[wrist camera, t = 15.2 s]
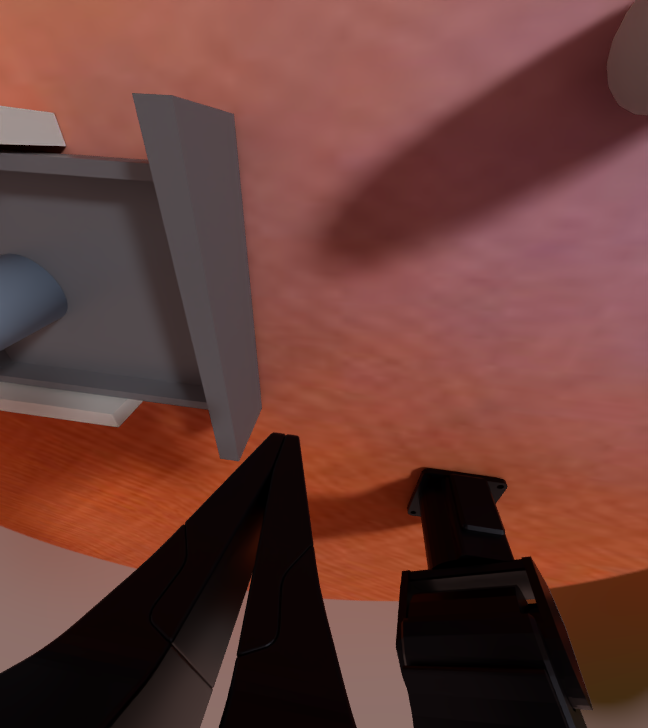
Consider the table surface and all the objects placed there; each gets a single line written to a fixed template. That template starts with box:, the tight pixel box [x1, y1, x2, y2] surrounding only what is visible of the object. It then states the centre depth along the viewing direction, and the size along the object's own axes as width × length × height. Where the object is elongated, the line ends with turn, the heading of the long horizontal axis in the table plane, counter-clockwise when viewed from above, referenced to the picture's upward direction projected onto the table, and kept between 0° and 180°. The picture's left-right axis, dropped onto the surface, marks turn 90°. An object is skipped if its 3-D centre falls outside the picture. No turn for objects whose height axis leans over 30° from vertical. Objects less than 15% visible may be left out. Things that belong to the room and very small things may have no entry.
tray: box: [0, 93, 262, 461], centre depth 16 cm, size 18×17×5 cm
